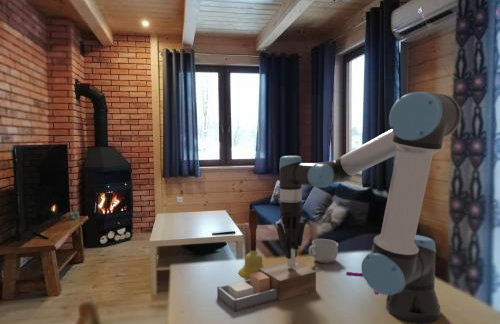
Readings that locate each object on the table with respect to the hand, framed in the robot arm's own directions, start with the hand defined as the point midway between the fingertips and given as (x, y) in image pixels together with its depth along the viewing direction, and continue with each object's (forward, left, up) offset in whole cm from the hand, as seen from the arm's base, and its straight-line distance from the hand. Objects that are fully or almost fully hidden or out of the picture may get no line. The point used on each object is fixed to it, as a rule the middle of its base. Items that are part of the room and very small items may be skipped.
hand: (291, 266), depth 133 cm
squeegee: (-6, -27, -8) cm, 29 cm away
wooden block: (0, +2, -7) cm, 8 cm away
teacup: (+14, -26, -8) cm, 31 cm away
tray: (0, +18, -7) cm, 19 cm away
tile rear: (0, +15, -4) cm, 15 cm away
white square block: (0, +20, -3) cm, 20 cm away
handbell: (+18, +5, -8) cm, 20 cm away
